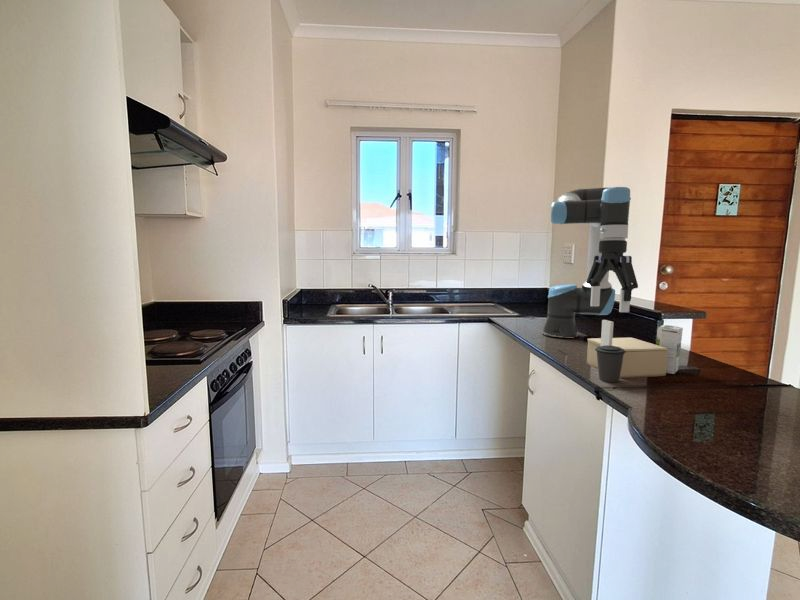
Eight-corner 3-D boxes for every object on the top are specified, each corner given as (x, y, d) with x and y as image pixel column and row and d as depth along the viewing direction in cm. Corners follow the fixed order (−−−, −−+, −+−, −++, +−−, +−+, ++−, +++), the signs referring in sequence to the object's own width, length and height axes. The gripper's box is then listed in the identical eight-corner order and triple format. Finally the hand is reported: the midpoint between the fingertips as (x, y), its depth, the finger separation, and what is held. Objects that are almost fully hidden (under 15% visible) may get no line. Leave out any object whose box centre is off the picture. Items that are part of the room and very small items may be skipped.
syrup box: (657, 367, 132) (661, 324, 130) (679, 371, 128) (683, 326, 126) (653, 370, 128) (656, 326, 126) (675, 374, 124) (679, 329, 122)
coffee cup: (631, 382, 116) (632, 349, 114) (606, 385, 114) (607, 351, 113) (611, 373, 124) (612, 342, 122) (588, 376, 122) (589, 344, 121)
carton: (586, 363, 136) (588, 340, 135) (628, 361, 139) (630, 339, 138) (618, 378, 120) (620, 352, 119) (665, 375, 123) (667, 350, 122)
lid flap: (584, 341, 135) (586, 315, 134) (630, 340, 137) (632, 314, 136) (615, 353, 120) (617, 323, 119) (666, 351, 122) (669, 322, 121)
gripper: (577, 241, 132) (574, 304, 135) (631, 237, 108) (626, 315, 110) (598, 241, 133) (594, 303, 136) (656, 238, 109) (650, 314, 111)
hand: (608, 309), depth 123 cm, fingers open, 13 cm apart
